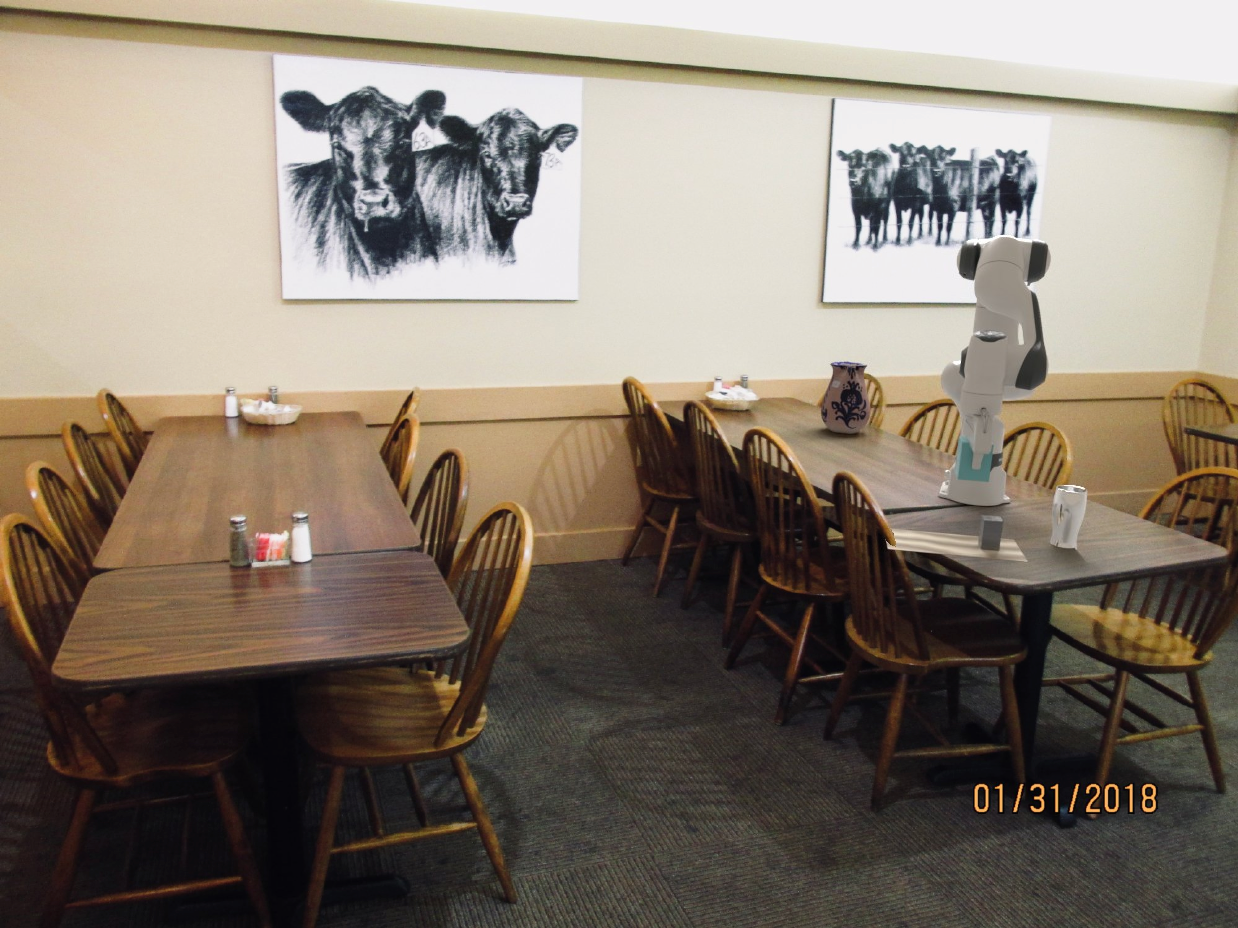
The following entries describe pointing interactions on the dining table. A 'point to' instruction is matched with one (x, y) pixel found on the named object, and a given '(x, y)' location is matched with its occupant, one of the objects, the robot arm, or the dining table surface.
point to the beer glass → (1067, 515)
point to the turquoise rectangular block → (965, 461)
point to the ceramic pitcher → (846, 399)
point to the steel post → (990, 532)
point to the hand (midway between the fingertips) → (973, 464)
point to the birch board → (953, 545)
